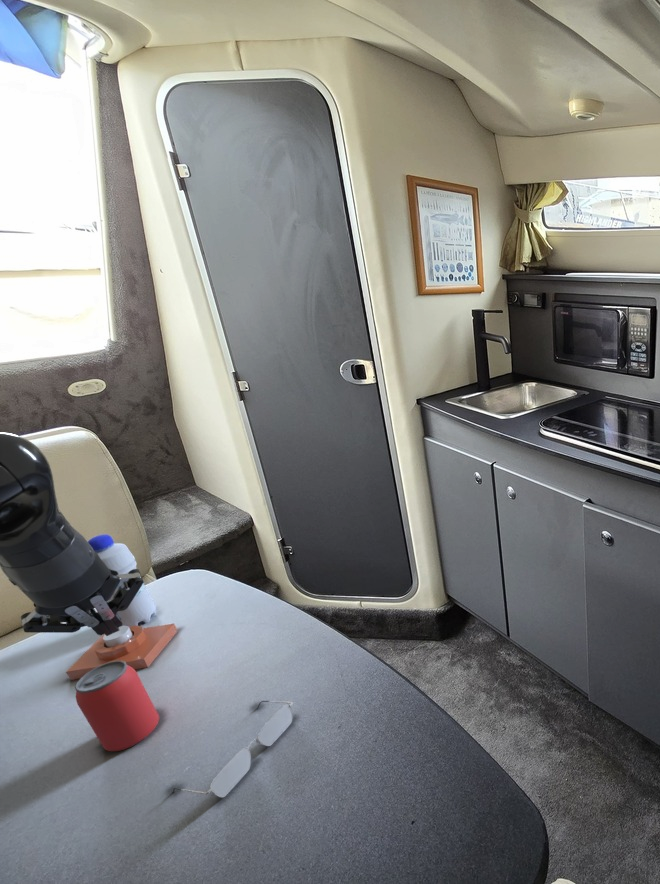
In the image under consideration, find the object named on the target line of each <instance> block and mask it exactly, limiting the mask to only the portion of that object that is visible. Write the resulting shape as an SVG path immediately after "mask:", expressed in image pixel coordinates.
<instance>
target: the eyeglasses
mask: <svg viewBox="0 0 660 884" xmlns="http://www.w3.org/2000/svg"><path fill="white" fill-rule="evenodd" d="M262 703H279V704H284V705H282V706H281V707H280V708H279V709H278V710H277V711H276V712H275V713H274V714H273V715H272V716H271V717H270V718H269V719H268V720H267V721H266V723H264V725H263V726H262V727H261V728H260V730H259V731H258V733H257V737H256V738H253V740H252V741H251V742H249V744H248V745H247V747H244V748H242V749H240V750H239V751H238V752H237V753H236V754H235V755H234V756H233V757H232V758H231V759H230V760H229V761H228V762H227V763H226V765H224V766H223V768H221V770H220V771H219V772H218V773H217V775H216V776H215V777H214V778H213V779H212V780H211V782H210V784H209V790H207V791H198V790H192V789H184V788H179V787H173V788H172V791H173V793H175V792H176V790H177V791H183V792H190V793H194V794H201V795H209V794H210V793H213V795H215V796H217V797H219V798H225V797H226V796H227V795H228V794H229V793H230V792H231V791H232V789H234V788H235V786H236V785H237V784H238V783H239V782H240V781H241V780H242V779H243V777H244V776H245V775H246V774H247V773H248V772H249V771H250V769H251V765H252V756H251V751H250V746H251V745H252V743H254V742H255V743H256V744H258V745H260V746H262V745H263V746H266V747H270V746H272V745H273V744H274V743H275V742H276V741H277V740H278V739H279V738H280V737H281V736H282V734H283V733H285V731H286V730H287V729H288V728H289V726H290V725H291V724H293V711H292V708H291V707H292V706H293V701H281V700H280V701H278V700H261V701H260V702H259V703H258V705H257V707H256V708H257V709H259V708H260V705H261V704H262Z"/></svg>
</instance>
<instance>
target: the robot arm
mask: <svg viewBox="0 0 660 884" xmlns="http://www.w3.org/2000/svg"><path fill="white" fill-rule="evenodd" d="M51 468H52V467H51V465H50V462H49V461H48V459H47V457H46V455H45V454H44V453H43V451H42V450H41V449H40V448H39V447H38V446H37V445H36V444H35V443H33V442H31V441H30V440H29V439H26V438H24V437H22V436H19V435H17V434H15V433H14V434H13V433H9V432H0V569H1V571H2V573H3V574H4V575H5V576H6V578H8V581H9V582H10V583H11V584H12V585H13V586H15V587H16V588H18V590H20V592H22V593H23V594H24V595H25V596H26V597H27V598H28V599H29V600H31V602H32V603H33V607H34V609H33V610H32V611H30V612H25V613H23V614H21V616H20V620H21V626H22V629H23V632H24V633H35V634H37V633H39V634H40V633H41V634H44V633H45V634H47V633H50V634H51V633H52V634H53V633H54V634H55V633H57V634H58V633H59V634H60V633H65V634H66V633H67V634H68V633H70V634H71V633H76V632H78V631H80V630H81V628H84V627H88V628H90V629H92V630H93V631H94V632H95V633H96V635H97V636H102V635H103V634H105V635H106V636H109V635H111V634H113V633H115V632H117V631H120V630H119V627H121V626H122V624H123V623H122V620H121V618H120V616H119V615H118V614H117V612H118V611H123V610H126V609H127V608H128V607H129V605H130V603H131V602H132V600H133V599H134V597H135V596H136V594H137V592H138V591H139V589H140V588H141V586H142V584H143V583H144V578H143V577H142V574H141V571H140V569H138V568H137V569H133V570H131V571H129V573H128V574H118V572H117V571H115V570H111V569H109V568H108V567H107V566H106V565H105V564H104V562H103V561H102V560H101V558H100V557H99V556H98V555H97V553H96V552H95V551H94V549H93V548H92V547H91V545H90V544H89V543H88V540H87V539H86V538H85V536H84V535H82V533H80V532H79V531H78V530H77V529H75V527H73V526H72V524H71V522H70V521H69V520H68V519H67V518H66V516H65V515H64V514H63V511H61V510H60V507H59V504H58V499H57V495H56V494H57V493H56V489H55V481H54V476H53V475H54V474H53V471H52V469H51ZM118 584H120V587H119V589H118V590H117V592H116V593H115V595H114V597H113V600H111V601H110V602H109V599H110V598H111V597H112V595H113V593H114V591H115V590H116V588H117V586H118ZM144 584H145V583H144Z"/></svg>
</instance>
